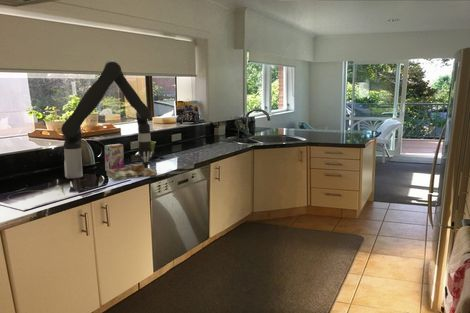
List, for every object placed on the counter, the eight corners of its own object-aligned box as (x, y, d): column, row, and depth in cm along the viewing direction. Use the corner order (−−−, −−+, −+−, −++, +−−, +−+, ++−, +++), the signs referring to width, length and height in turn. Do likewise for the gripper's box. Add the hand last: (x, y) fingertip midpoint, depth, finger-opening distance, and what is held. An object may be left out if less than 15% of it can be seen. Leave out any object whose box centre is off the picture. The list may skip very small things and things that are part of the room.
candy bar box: (109, 172, 250) (108, 146, 247) (105, 171, 254) (103, 145, 250) (124, 169, 259) (123, 144, 256) (120, 168, 262) (119, 143, 259)
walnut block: (135, 171, 243) (135, 166, 242) (131, 170, 248) (131, 164, 247) (144, 170, 246) (144, 165, 246) (140, 168, 251) (140, 163, 251)
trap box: (114, 180, 230) (114, 172, 229) (106, 175, 241) (106, 168, 241) (156, 174, 245) (156, 167, 244) (147, 170, 256) (147, 163, 255)
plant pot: (139, 156, 304) (138, 141, 302) (155, 155, 307) (154, 140, 305) (140, 159, 293) (140, 143, 291) (157, 158, 296) (156, 143, 294)
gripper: (136, 142, 240) (137, 170, 243) (157, 140, 247) (158, 167, 251) (131, 140, 246) (133, 168, 249) (152, 138, 253) (153, 165, 257)
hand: (145, 167), depth 250 cm, fingers closed
